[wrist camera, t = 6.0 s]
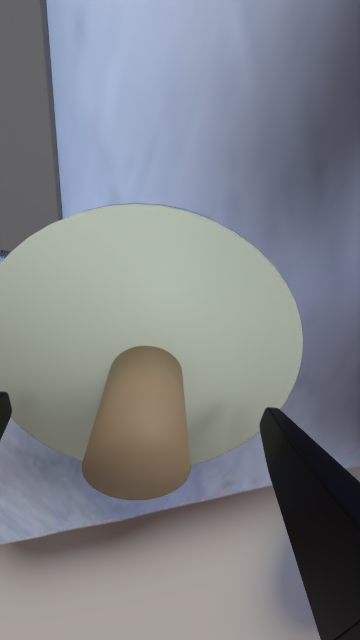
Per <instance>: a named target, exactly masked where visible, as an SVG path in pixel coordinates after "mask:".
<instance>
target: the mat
mask: <svg viewBox="0 0 360 640" xmlns="http://www.w3.org/2000/svg"><path fill="white" fill-rule="evenodd" d="M60 220H62V206H61V193H60V179H59V166H58V153H57V140H56V127H55V114H54V100H53V87H52V74H51V61H50V48H49V35H48V22H47V8H46V0H0V250H5V251H13V250H14V249H15V248H16V247H17V246H19V245H20V244H21V243H22V242H23V241H25V240H26V239H27V238H28V237H30V236H31V235H33V234H35V233H36V232H38V231H40V230H41V229H43V228H45V227H47V226H48V225H50V224H52V223H54V222H57V221H60Z"/></svg>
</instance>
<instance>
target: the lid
mask: <svg viewBox="0 0 360 640" xmlns="http://www.w3.org/2000/svg"><path fill="white" fill-rule="evenodd" d="M302 352H303V333H302V326H301V319H300V316H299V312H298V309H297V306H296V302H295V300H294V298H293V296H292V294H291V292H290V290H289V288H288V286H287V284H286V282H285V281H284V279H283V278H282V277H281V275H280V274H279V272H278V271H277V270H276V268H275V267H274V266H273V264H272V263H271V262H270V261H269V260H268V259H267V258H266V257H265V256H264V255H263V254H262V253H261V252H260V251H259V250H258V249H256V248H255V247H254V246H252V245H251V244H250V243H248V242H247V241H246V240H244V239H243V238H242V237H240V236H239V235H238V234H236V233H235V232H233V231H232V230H231V229H229V228H227V227H225V226H223V225H221V224H219V223H218V222H216V221H214V220H212V219H210V218H207V217H205V216H202V215H199V214H196V213H194V212H191V211H188V210H185V209H180V208H175V207H170V206H166V205H159V204H143V203H130V204H117V205H108V206H104V207H99V208H95V209H91V210H86V211H83V212H80V213H77V214H75V215H72V216H70V217H67V218H65V219H62V220H60V221H57V222H54V223H52V224H50V225H48V226H47V227H45V228H43V229H41V230H40V231H38V232H36V233H35V234H33V235H31V236H30V237H28V238H27V239H26V240H25V241H23V242H22V243H21V244H20V245H19V246H17V247H16V248H15V249H14V250H13V251H11V252H10V253H9V255H8V256H7V257H6V258H5V259H4V261H3V262H2V263H1V264H0V391H4V392H7V393H8V395H9V398H10V402H11V407H12V414H11V418H12V419H13V420H14V421H15V422H16V423H17V424H18V425H19V426H20V427H21V428H23V429H24V430H25V431H26V432H27V433H29V434H30V435H31V436H33V437H34V438H36V439H37V440H39V441H40V442H42V443H43V444H45V445H47V446H49V447H51V448H52V449H54V450H56V451H58V452H60V453H63V454H65V455H67V456H70V457H72V458H74V459H77V460H81V461H83V462H82V472H83V475H84V477H85V479H86V481H87V482H88V483H89V484H90V485H91V486H92V487H93V488H95V489H96V490H98V491H99V492H101V493H103V494H106V495H108V496H111V497H115V498H119V499H126V500H147V499H153V498H157V497H161V496H164V495H167V494H169V493H171V492H173V491H175V490H176V489H178V488H179V487H180V486H181V485H182V484H183V483H184V482H185V481H186V480H187V478H188V476H189V473H190V468H191V466H190V465H194V464H197V463H201V462H204V461H207V460H210V459H213V458H215V457H218V456H220V455H222V454H224V453H226V452H229V451H231V450H232V449H234V448H236V447H238V446H239V445H241V444H243V443H244V442H246V441H247V440H249V439H250V438H251V437H253V436H254V435H256V434H257V433H258V432H259V431H260V421H261V418H262V415H263V413H264V410H265V408H267V407H275V408H278V409H281V407H282V406H283V404H284V403H285V401H286V400H287V398H288V396H289V394H290V392H291V390H292V389H293V387H294V384H295V381H296V379H297V376H298V373H299V370H300V364H301V359H302Z"/></svg>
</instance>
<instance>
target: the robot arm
mask: <svg viewBox="0 0 360 640" xmlns="http://www.w3.org/2000/svg"><path fill="white" fill-rule="evenodd" d="M11 414H12V407H11V402H10V398H9V395H8V393H7V392H4V391H0V440H1V438H2V435H3V433H4V431H5V429H6V426H7V424H8V422H9V420H10V417H11ZM260 433H261V438H262V443H263V447H264V452H265V457H266V462H267V467H268V471H269V474H270V478H271V481H272V484H273V488H274V491H275V494H276V497H277V500H278V504H279V506H280V510H281V513H282V516H283V520H284V523H285V526H286V529H287V533H288V536H289V539H290V542H291V545H292V549H293V552H294V555H295V558H296V561H297V565H298V568H299V571H300V574H301V577H302V581H303V584H304V587H305V590H306V593H307V597H308V600H309V603H310V606H311V610H312V613H313V616H314V619H315V622H316V625H317V629H318V632H319V635H320V638H321V640H360V482H359V481H358V480H357V479H356V478H355V477H354V476H352V475H351V474H350V473H349V472H348V471H347V470H346V469H345V468H344V467H342V466H341V465H340V464H339V463H338V462H337V461H336V460H335V459H334V458H333V457H331V456H330V455H329V454H328V453H327V452H326V451H325V450H324V449H323V448H322V447H320V446H319V445H318V444H317V443H316V442H315V441H314V440H313V439H312V438H311V437H309V436H308V435H307V434H306V433H305V432H304V431H303V430H302V429H301V428H299V427H298V426H297V425H296V424H295V423H294V422H293V421H292V420H291V419H290V418H288V417H287V416H286V415H285V414H284V413H283V412H282V411H281V410H280V409H278V408H275V407H267V408H265V410H264V413H263V415H262V418H261V421H260Z"/></svg>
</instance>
